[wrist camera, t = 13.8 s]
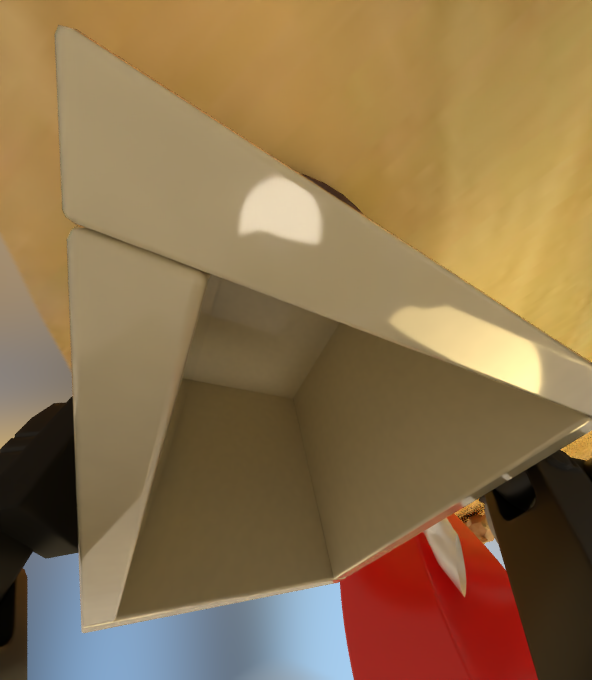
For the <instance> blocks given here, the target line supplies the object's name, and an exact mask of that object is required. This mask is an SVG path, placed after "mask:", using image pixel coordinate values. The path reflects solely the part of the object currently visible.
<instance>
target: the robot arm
mask: <svg viewBox="0 0 592 680" xmlns="http://www.w3.org/2000/svg"><path fill="white" fill-rule="evenodd" d="M479 501H480V502H483V503H485V504H487V506H488V510H489V513H490V516H491V520H492V523H493V527H494V530H495V534H496V537H497V540H498V544H499V547H500V551H501V554H502V557H503V561H504V564H505V568H506V571H507V575H508V578H509V582H510V585H511V588H512V592H513V595H514V599H515V602H516V606H517V609H518V612H519V616H520V619H521V623H522V626H523V630H524V633H525V636H526V640H527V643H528V647H529V650H530V654H531V657H532V660H533V664H534V667H535V671H536V674H537V677H538V680H592V458H590V459H589V460H587V461H586V460H581V459H576V458H571V457H569V456H568V455H567V454H566V453H565V452H563V451H561V450H558V451H556V452H555V453H553V454H551V455H550V456H548V457H546V458H545V459H543V460H541V461H540V462H538V463H536V464H535V465H533V466H531V467H530V468H528V469H527V470H525V471H523V472H522V473H520V474H518V475H517V476H515V477H513V478H512V479H510V480H508V481H507V482H505V483H503V484H502V485H500V486H498V487H497V488H495V489H493V490H492V491H490V492H488V493H487V494H485V495H483V496H482V497H480V498H479ZM32 552H35V553H37V554H39V555H40V556H42V557H44V558H51V557H57V556H62V555H68V554H73V553H79V548H78V522H77V495H76V469H75V443H74V416H73V396H72V397H71V398H70V399H69V400H68V401H67V403H54V404H52V405H51V406H50V407H48V408H46V409H45V410H43V411H42V412H40V413H39V414H37V415H35V416H34V417H32V418H31V419H30V420H29V421H28V422H27V423H26V424H25V425H24V426H23V427H22V428H21V429H20V430H19V431H18V432H17V433H16V434H15V437H14V438H11V439H10V440H9V441H8V442H7V443H6V444H5V445H4V446H3V447H2V448H1V449H0V680H27V575H26V573H25V570H24V569H23V566H24V565H25V563H26V562H27V560H28V558H29V557H30V555H31V554H32Z"/></svg>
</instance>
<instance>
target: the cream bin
mask: <svg viewBox="0 0 592 680" xmlns="http://www.w3.org/2000/svg"><path fill="white" fill-rule="evenodd" d="M55 55H56V77H57V100H58V123H59V145H60V168H61V190H62V210H63V212H64V214H65V217H66V218H68V219H69V220H71V221H72V222H74V223H76V224H78V225H80V226H74V228H73V229H72V230H71V231H70V234H69V236H68V238H67V258H68V284H69V311H70V337H71V363H72V387H73V388H72V389H73V416H74V443H75V469H76V495H77V522H78V548H79V573H80V598H81V599H80V601H81V625H82V632H83V633H86V632H92V631H96V630H102V629H107V628H112V627H117V626H122V625H127V624H132V623H137V622H142V621H147V620H152V619H157V618H162V617H167V616H172V615H177V614H182V613H187V612H192V611H197V610H202V609H207V608H213V607H217V606H223V605H227V604H233V603H237V602H242V601H247V600H253V599H258V598H262V597H268V596H273V595H278V594H283V593H288V592H293V591H298V590H303V589H308V588H313V587H318V586H323V585H328V584H333V583H338V582H340V581H342V580H343V579H345V578H346V577H348V576H350V575H352V574H353V573H355V572H357V571H358V570H360V569H362V568H363V567H365V566H367V565H368V564H370V563H372V562H373V561H375V560H377V559H378V558H380V557H382V556H383V555H385V554H387V553H388V552H390V551H392V550H393V549H395V548H397V547H398V546H400V545H402V544H403V543H405V542H407V541H408V540H410V539H412V538H413V537H415V536H417V535H418V534H420V533H422V532H423V531H425V530H427V529H428V528H430V527H432V526H433V525H435V524H437V523H438V522H440V521H442V520H443V519H445V518H447V517H448V516H450V515H452V514H453V513H455V512H457V511H458V510H460V509H462V508H463V507H465V506H467V505H468V504H470V503H472V502H473V501H475V500H477V499H478V498H480V497H482V496H483V495H485V494H487V493H488V492H490V491H492V490H493V489H495V488H497V487H498V486H500V485H502V484H503V483H505V482H507V481H508V480H510V479H512V478H513V477H515V476H517V475H518V474H520V473H522V472H523V471H525V470H527V469H528V468H530V467H531V466H533V465H535V464H536V463H538V462H540V461H541V460H543V459H545V458H546V457H548V456H550V455H551V454H553V453H555V452H556V451H558V450H560V449H561V448H563V447H565V446H566V445H568V444H570V443H571V442H573V441H575V440H576V439H578V438H580V437H581V436H583V435H585V434H586V433H588V432H590V431H591V430H592V362H590V361H589V360H587V359H586V358H584V357H582V356H581V355H579V354H578V353H576V352H575V351H573V350H572V349H570V348H569V347H567V346H565V345H564V344H562V343H561V342H559V341H558V340H556V339H555V338H553V337H552V336H550V335H548V334H547V333H545V332H544V331H542V330H541V329H539V328H538V327H536V326H535V325H533V324H531V323H530V322H528V321H527V320H525V319H524V318H522V317H521V316H519V315H518V314H516V313H514V312H513V311H511V310H510V309H508V308H507V307H505V306H504V305H502V304H501V303H499V302H497V301H496V300H494V299H493V298H491V297H490V296H488V295H487V294H485V293H484V292H482V291H480V290H479V289H477V288H476V287H474V286H473V285H471V284H470V283H468V282H467V281H465V280H463V279H462V278H460V277H459V276H457V275H456V274H454V273H453V272H451V271H450V270H448V269H446V268H445V267H443V266H442V265H440V264H439V263H437V262H436V261H434V260H433V259H431V258H429V257H428V256H426V255H425V254H423V253H422V252H420V251H419V250H417V249H416V248H414V247H412V246H411V245H409V244H408V243H406V242H405V241H403V240H402V239H400V238H399V237H397V236H395V235H394V234H392V233H391V232H389V231H388V230H386V229H385V228H383V227H382V226H380V225H378V224H377V223H375V222H374V221H372V220H371V219H369V218H368V217H366V216H365V215H363V214H361V213H360V212H358V211H357V210H355V209H354V208H352V207H351V206H349V205H348V204H346V203H344V202H343V201H341V200H340V199H338V198H337V197H335V196H334V195H332V194H331V193H329V192H327V191H326V190H324V189H323V188H321V187H320V186H318V185H317V184H315V183H314V182H312V181H310V180H309V179H307V178H306V177H304V176H303V175H301V174H300V173H298V172H297V171H295V170H293V169H292V168H290V167H289V166H287V165H286V164H284V163H283V162H281V161H280V160H278V159H276V158H275V157H273V156H272V155H270V154H269V153H267V152H266V151H264V150H263V149H261V148H259V147H258V146H256V145H255V144H253V143H252V142H250V141H249V140H247V139H246V138H244V137H242V136H241V135H239V134H238V133H236V132H235V131H233V130H232V129H230V128H229V127H227V126H225V125H224V124H222V123H221V122H219V121H218V120H216V119H215V118H213V117H212V116H210V115H208V114H207V113H205V112H204V111H202V110H201V109H199V108H198V107H196V106H195V105H193V104H191V103H190V102H188V101H187V100H185V99H184V98H182V97H181V96H179V95H178V94H176V93H174V92H173V91H171V90H170V89H168V88H167V87H165V86H164V85H162V84H160V83H159V82H157V81H156V80H154V79H153V78H151V77H150V76H148V75H147V74H145V73H143V72H142V71H140V70H139V69H137V68H136V67H134V66H133V65H131V64H130V63H128V62H126V61H125V60H123V59H122V58H120V57H119V56H117V55H116V54H114V53H113V52H111V51H109V50H108V49H106V48H105V47H103V46H102V45H100V44H99V43H97V42H96V41H94V40H92V39H91V38H89V37H88V36H86V35H85V34H83V33H82V32H80V31H79V30H77V29H74V28H70V27H65V26H61V25H58V27H57V30H56V33H55Z"/></svg>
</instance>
